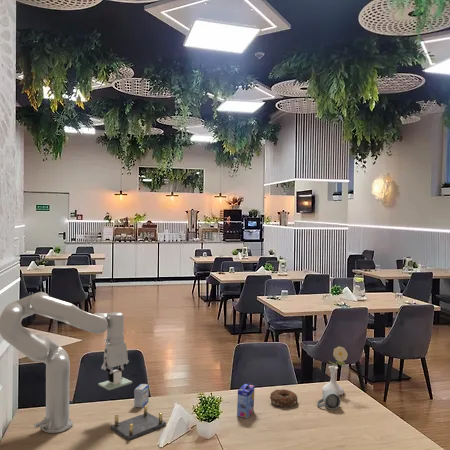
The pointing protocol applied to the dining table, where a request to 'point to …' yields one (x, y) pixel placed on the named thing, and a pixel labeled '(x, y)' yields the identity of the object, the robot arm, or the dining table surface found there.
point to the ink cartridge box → (245, 400)
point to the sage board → (110, 386)
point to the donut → (283, 398)
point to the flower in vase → (333, 385)
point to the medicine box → (141, 395)
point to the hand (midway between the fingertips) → (115, 379)
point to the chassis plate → (138, 425)
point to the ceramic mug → (329, 400)
